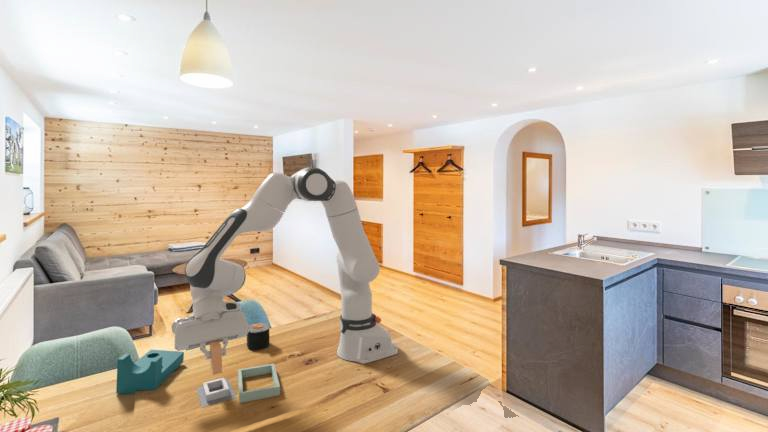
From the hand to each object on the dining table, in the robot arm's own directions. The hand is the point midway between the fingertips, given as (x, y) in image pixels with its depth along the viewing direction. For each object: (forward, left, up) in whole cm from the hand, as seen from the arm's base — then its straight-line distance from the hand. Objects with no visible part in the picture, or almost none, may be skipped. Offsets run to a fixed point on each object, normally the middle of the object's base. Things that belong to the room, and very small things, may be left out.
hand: (216, 356), depth 109 cm
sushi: (-14, -32, -12) cm, 37 cm away
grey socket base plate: (0, -1, -12) cm, 12 cm away
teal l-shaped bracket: (+19, -19, -12) cm, 30 cm away
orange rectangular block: (0, -1, -5) cm, 5 cm away
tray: (-11, 0, -12) cm, 17 cm away
